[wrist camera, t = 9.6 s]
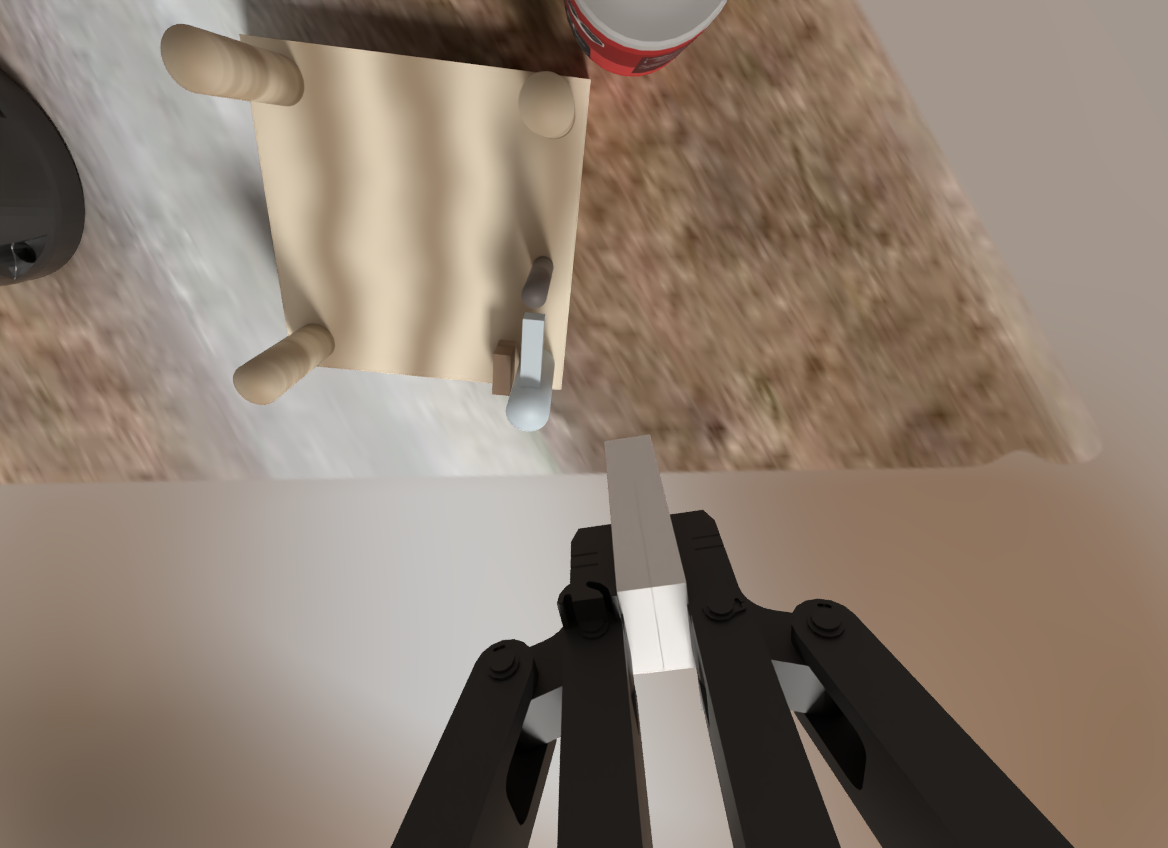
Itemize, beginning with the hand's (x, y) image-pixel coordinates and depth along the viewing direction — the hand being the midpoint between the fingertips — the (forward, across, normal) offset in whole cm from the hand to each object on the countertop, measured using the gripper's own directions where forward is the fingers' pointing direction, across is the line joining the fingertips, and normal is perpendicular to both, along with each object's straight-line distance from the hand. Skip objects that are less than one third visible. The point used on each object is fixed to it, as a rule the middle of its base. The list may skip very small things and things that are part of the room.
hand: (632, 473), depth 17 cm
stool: (+24, -11, +6) cm, 28 cm away
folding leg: (+22, -5, -2) cm, 22 cm away
